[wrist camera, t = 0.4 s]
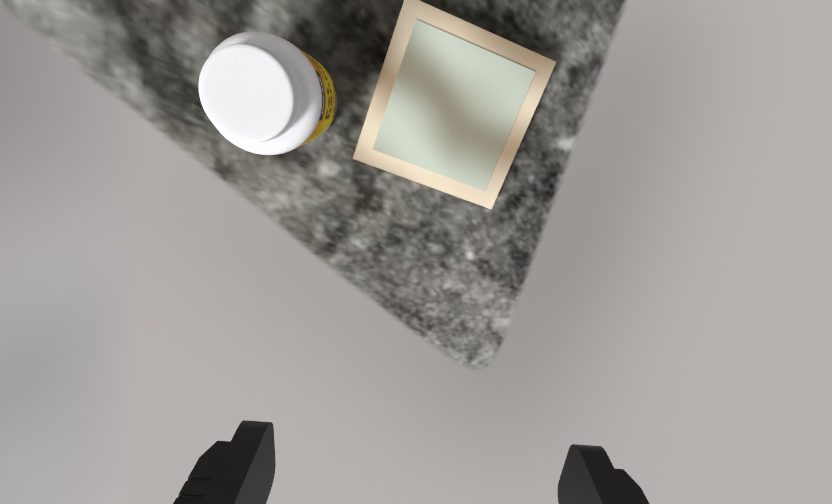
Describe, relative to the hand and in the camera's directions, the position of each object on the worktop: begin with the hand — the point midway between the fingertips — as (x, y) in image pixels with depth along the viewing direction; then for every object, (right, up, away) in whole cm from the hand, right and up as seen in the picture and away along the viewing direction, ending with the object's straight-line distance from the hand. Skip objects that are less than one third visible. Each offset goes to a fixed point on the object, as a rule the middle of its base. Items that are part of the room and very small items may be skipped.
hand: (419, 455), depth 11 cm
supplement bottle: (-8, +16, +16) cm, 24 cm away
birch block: (+2, +15, +17) cm, 23 cm away
